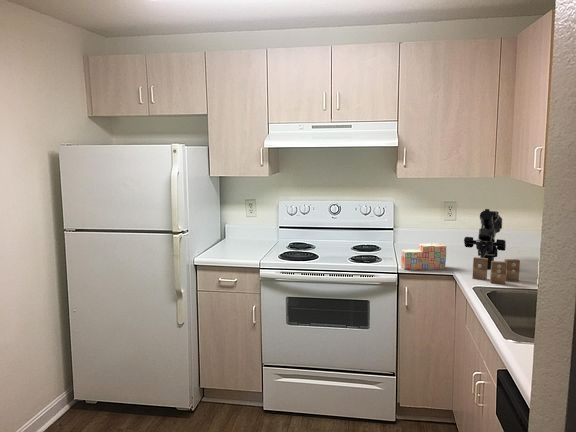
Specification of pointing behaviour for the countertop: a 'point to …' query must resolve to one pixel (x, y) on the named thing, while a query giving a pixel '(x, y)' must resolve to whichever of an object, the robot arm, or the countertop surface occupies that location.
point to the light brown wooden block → (498, 272)
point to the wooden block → (480, 268)
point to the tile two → (512, 269)
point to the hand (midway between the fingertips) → (482, 257)
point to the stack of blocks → (424, 257)
